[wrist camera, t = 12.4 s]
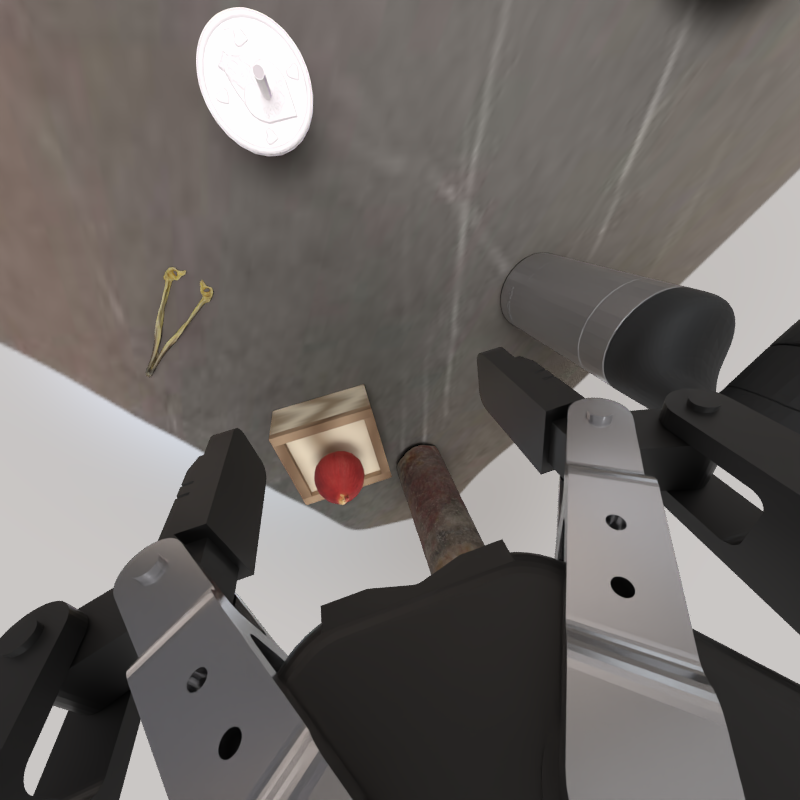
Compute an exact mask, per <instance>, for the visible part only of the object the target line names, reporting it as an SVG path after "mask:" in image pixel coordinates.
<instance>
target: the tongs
mask: <svg viewBox="0 0 800 800" xmlns="http://www.w3.org/2000/svg"><path fill="white" fill-rule="evenodd" d="M173 271H176V272H177V276H175V274H174V273H173ZM185 274H186V270H185V271H178V270H177V269H176V268H174V267H171V268H168V270H167V271H166V272H165V275H164V277H163V278H164V280H165V283H166V284H165V288H164V292H163V297H162V302H161V305H160V309H159V312H158V316H157V320H156V327H155V335H154V337H155V340H154V347H153V353H152V356H151V359H150V362H149V365H148V368H147V370H146V376H148V377H151V376H152V374H153V372H154V370H155V368H156V367H157V365H158V364H159V362H160V360H161V359H162V357H163V356H164V354H165V353H166V352H167V350H168V349H169V348H170V347H171V346H172V345H173V344H174V343H175V342H176V341H177V339H178V337H179V336H180V335H181V334H182V332H183V330H184V328H185V327H186V326H187V325H188V324H189V322H190V321H191V320H192V319H193V317H194V316H195V315H196V313H197V312H198V311H199V309H200V308H201V307H202V306H203V305H204V304H205V303H207V302H210V300H211V298H212V295H213V289H212V288H211V287H208V286H206V285H205V283H204V282H203V280H201V281H200V285H201V289H200V290H201V293H202V295H203V297H202V299H201V300H200V302H199V304H198V306H197V307H196V308H195V309H194V311H193V312H192V314H191V316H190V317H189V319H188V320H187V321H186V322H185V323H184V324H183V325H182V327H181V328H180V329H179V330H178V331H177V333H176V334H175V335H174V336H173V337H172V338H171V339H170V340H169V341H168V342H167V343H166V345H165V346H164V347H163V349H162V351H161V352H160V354H159V352H158V346H159V343H160V338H161V332H162V325H163V319H164V308H165V305H166V302H167V299H168V295H169V291H170V287H171V283H172V281H173V280H178V279H180V278H181V276H183V275H185ZM206 288H209V289H210V290H209V292H204V291H203V290H205V289H206Z"/></svg>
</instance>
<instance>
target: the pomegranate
mask: <svg viewBox="0 0 800 800" xmlns="http://www.w3.org/2000/svg"><path fill="white" fill-rule="evenodd" d="M364 475H365V474H364V468H363V466H362V463H361V461H360V460H359V459H358V458H357V457H356V456H355V455H353V454H352V453H350V452H347V451H336V452H332V453H329V454H328V455H326V456H324V457H323V458H322V459H321V460H320V461H319V463H318V465H317V466H316V469H315V475H314V481H315V485H316V488H317V490H318V492H319V494H320V495H321V496H322V497H323V498H324V499H326V500H327V501H329V502H331V503H335V504H342V505H344V504H346V503H347V502H349V501H351V500H352V499H353V498H355V497H356V496H357V495H358V493H359V492H360V490H361V489H362V487H363V484H364Z"/></svg>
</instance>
